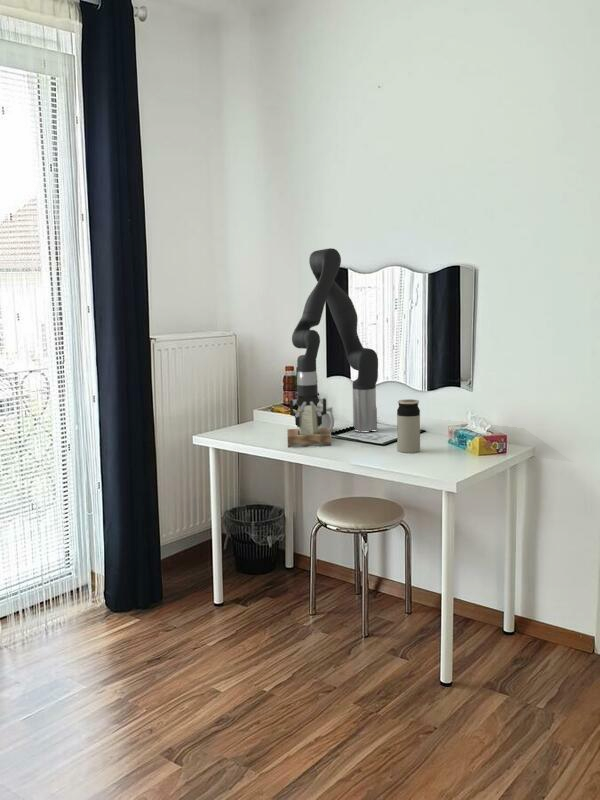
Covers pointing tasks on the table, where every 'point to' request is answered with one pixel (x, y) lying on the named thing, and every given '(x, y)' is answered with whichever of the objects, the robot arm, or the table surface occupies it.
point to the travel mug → (408, 426)
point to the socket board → (308, 438)
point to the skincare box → (308, 420)
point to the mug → (327, 418)
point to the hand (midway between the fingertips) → (308, 426)
